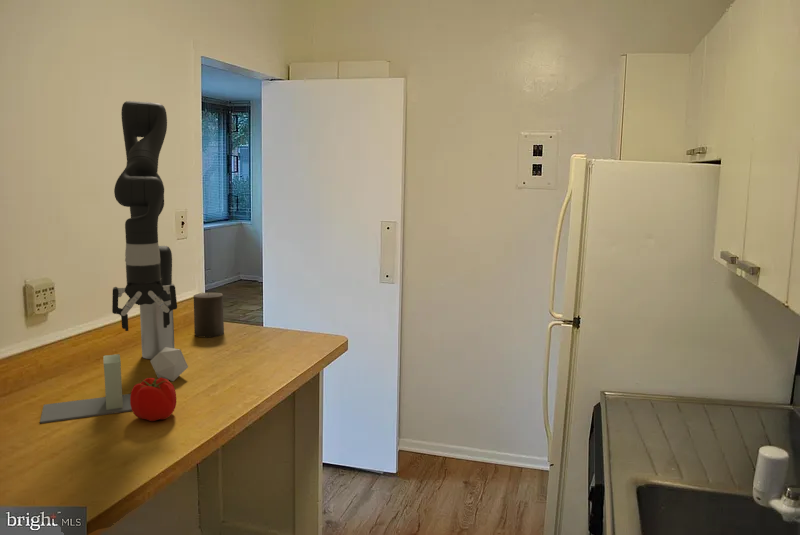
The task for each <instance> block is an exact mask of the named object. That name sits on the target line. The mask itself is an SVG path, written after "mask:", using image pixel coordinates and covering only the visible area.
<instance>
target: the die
mask: <svg viewBox="0 0 800 535" xmlns="http://www.w3.org/2000/svg"><path fill="white" fill-rule="evenodd" d="M174 348H175V347H174ZM174 348H168V347H165V348H164V349H163V350H162V351H160V352H159V353H158V354H157V355H156V356H155V357H154V358H153V359H150V364H151V366H152V368H153V370H154V373H155V375H156V377H157V379H159V378H165V379H168V381H169V380H170V381H171V382H174V381H175V380H176V379H178V377H180V376H181V374H183V373H184V372H185V371H187V369H188V368H189V365H188V363H187V361H186V359H185V356H184V354H183V352H182V350H181V349H179V348H175V349H174ZM170 381H169V382H170Z"/></svg>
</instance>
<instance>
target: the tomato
mask: <svg viewBox="0 0 800 535" xmlns="http://www.w3.org/2000/svg"><path fill="white" fill-rule="evenodd" d="M130 392H131V393H130V394H131V396H130V405H131V409H132V411H131V412H133V414H134V416H136V417H137V418H139V419H142V420H147V421H149V422H154V421H155V422H156V421H158V420H162V421H163V420H165V419H168V418H169V417H170V416H171V415H172V414H173V412H174V411H175V409H176V406H177V393H176V388H175V386H174V384H173V383H172V382H170V381H169V380H168V379H165V378H155V377H147V378H144V379H143V380H142V379H141V380H140V382H138V383H136V384H134V385H133V387H132V389H131V391H130Z"/></svg>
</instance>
